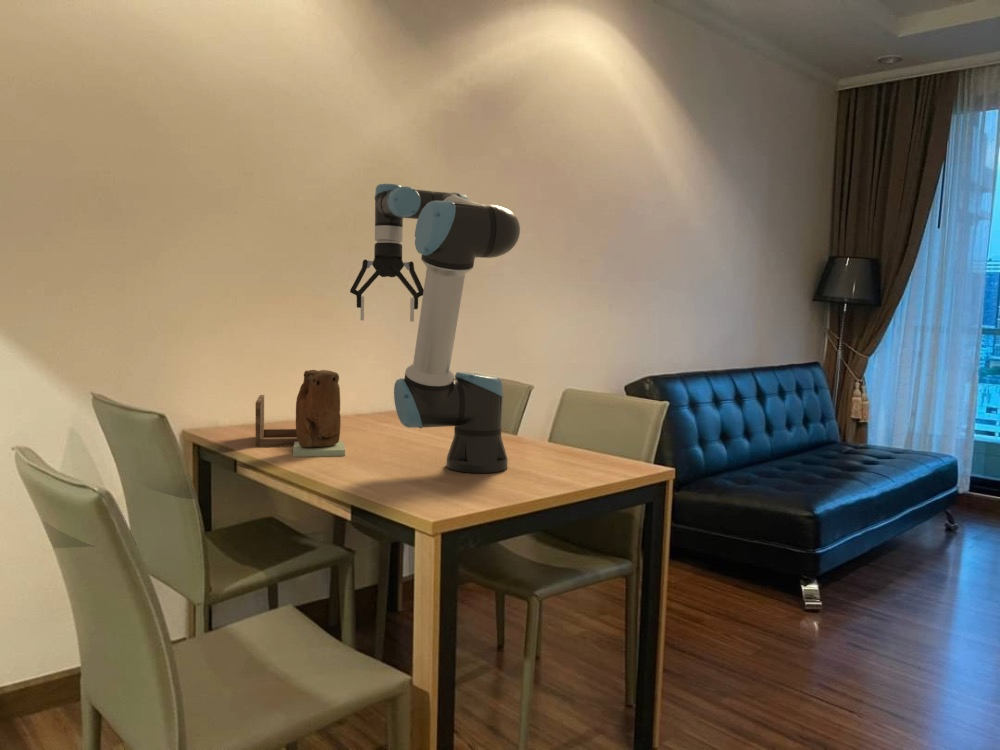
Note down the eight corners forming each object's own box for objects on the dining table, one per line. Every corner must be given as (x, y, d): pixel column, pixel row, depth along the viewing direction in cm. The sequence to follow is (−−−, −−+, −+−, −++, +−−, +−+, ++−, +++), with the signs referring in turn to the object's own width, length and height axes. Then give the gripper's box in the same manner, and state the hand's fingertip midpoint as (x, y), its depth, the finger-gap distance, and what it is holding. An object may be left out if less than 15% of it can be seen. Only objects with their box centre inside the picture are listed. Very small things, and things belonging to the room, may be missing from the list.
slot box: (321, 445, 214) (322, 402, 212) (255, 446, 210) (255, 402, 208) (321, 435, 230) (321, 395, 228) (259, 436, 225) (259, 395, 224)
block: (326, 441, 212) (327, 368, 210) (343, 445, 207) (343, 370, 205) (291, 446, 204) (292, 370, 202) (308, 450, 199) (308, 372, 197)
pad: (345, 455, 201) (345, 450, 201) (293, 456, 198) (293, 450, 198) (343, 446, 214) (343, 441, 214) (294, 447, 211) (294, 441, 211)
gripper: (431, 245, 218) (430, 321, 220) (341, 241, 212) (340, 319, 214) (435, 244, 211) (434, 322, 213) (342, 239, 205) (341, 320, 207)
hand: (387, 321), depth 214 cm, fingers open, 13 cm apart
